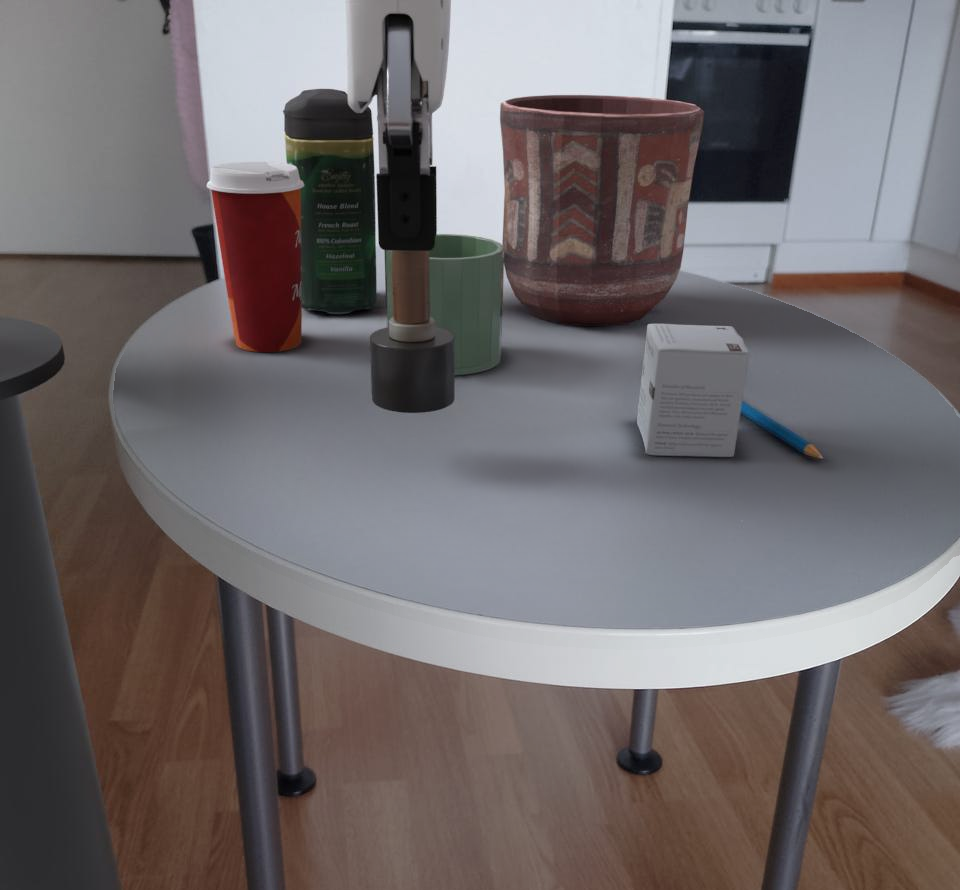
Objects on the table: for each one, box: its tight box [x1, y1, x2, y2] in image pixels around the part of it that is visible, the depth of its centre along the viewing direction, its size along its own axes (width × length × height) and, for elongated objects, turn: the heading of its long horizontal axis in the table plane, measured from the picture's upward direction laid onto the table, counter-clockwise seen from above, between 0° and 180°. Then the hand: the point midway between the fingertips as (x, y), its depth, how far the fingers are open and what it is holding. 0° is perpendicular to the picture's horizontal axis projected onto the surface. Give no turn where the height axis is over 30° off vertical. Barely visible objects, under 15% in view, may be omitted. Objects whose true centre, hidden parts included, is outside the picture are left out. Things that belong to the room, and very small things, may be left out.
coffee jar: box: [282, 88, 378, 315], centre depth 100 cm, size 10×8×19 cm
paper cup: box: [206, 161, 304, 353], centre depth 90 cm, size 8×8×14 cm
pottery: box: [499, 94, 705, 327], centre depth 100 cm, size 18×18×18 cm
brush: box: [369, 154, 456, 414], centre depth 65 cm, size 5×5×15 cm
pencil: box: [740, 400, 824, 459], centre depth 79 cm, size 1×17×1 cm, turn 19°
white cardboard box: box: [636, 323, 751, 458], centre depth 73 cm, size 6×6×7 cm
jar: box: [384, 233, 505, 376], centre depth 88 cm, size 9×9×9 cm
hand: (408, 241), depth 64 cm, fingers closed on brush
